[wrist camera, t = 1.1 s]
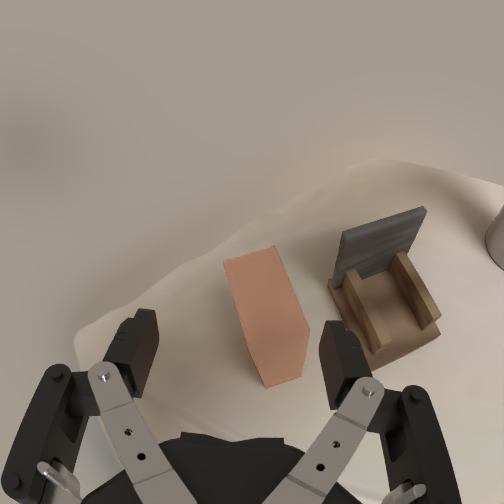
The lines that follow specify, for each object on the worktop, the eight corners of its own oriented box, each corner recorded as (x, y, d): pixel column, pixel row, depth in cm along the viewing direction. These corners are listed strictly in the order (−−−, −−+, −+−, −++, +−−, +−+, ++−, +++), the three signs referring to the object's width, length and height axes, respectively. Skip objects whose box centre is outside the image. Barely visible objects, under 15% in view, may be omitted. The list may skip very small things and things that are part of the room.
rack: (435, 338, 30) (483, 295, 21) (367, 373, 30) (401, 341, 20) (393, 261, 37) (419, 201, 28) (327, 285, 36) (339, 225, 27)
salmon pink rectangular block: (300, 376, 31) (310, 330, 18) (265, 388, 30) (249, 350, 18) (280, 320, 35) (273, 243, 23) (247, 330, 34) (221, 258, 22)
